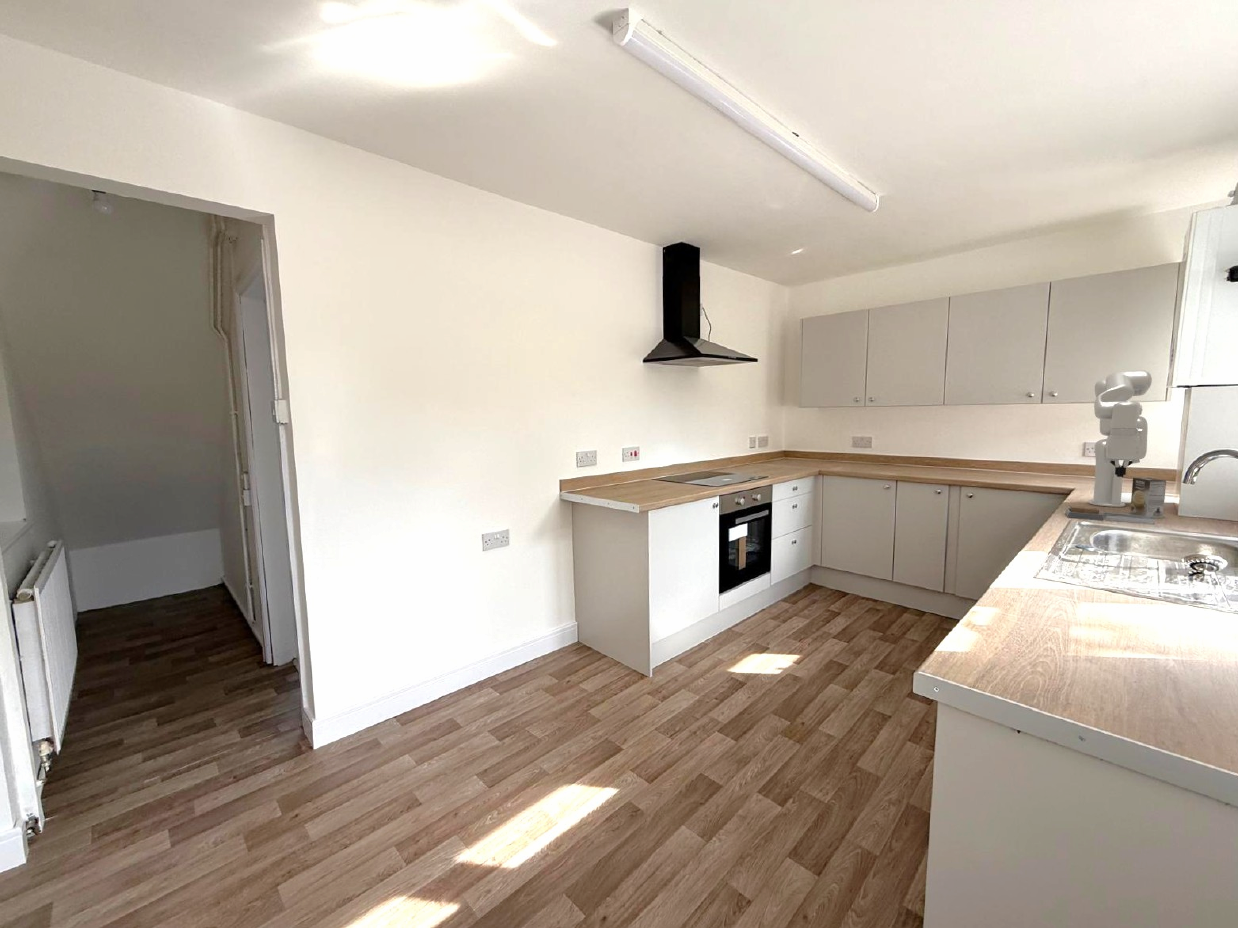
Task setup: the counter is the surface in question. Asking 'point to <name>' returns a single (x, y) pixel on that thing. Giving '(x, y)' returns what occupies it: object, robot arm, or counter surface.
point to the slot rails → (1128, 518)
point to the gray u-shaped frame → (1083, 515)
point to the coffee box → (1148, 497)
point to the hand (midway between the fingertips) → (1119, 476)
